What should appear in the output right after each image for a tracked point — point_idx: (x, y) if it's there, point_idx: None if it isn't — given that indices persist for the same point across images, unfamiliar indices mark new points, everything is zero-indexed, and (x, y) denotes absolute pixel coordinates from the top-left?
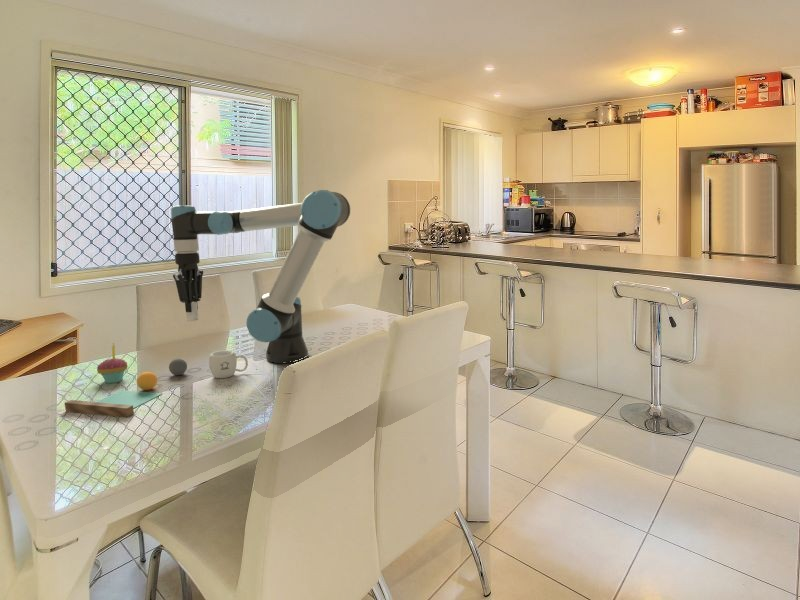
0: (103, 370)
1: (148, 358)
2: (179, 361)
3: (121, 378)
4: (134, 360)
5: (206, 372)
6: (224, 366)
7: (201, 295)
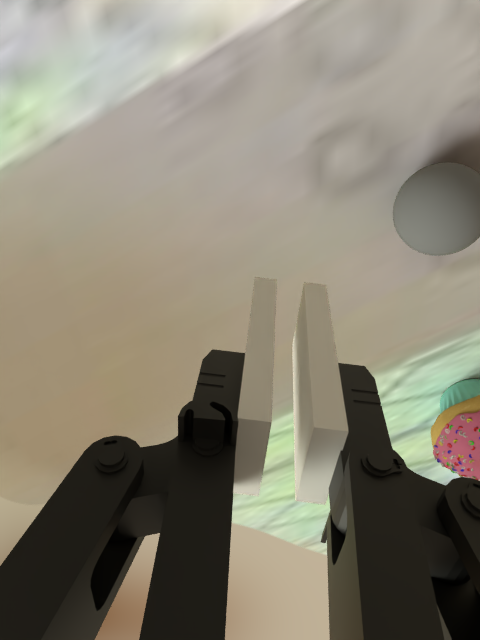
0: None
1: None
2: (476, 200)
3: (477, 382)
4: None
5: (397, 57)
6: None
7: (71, 469)
